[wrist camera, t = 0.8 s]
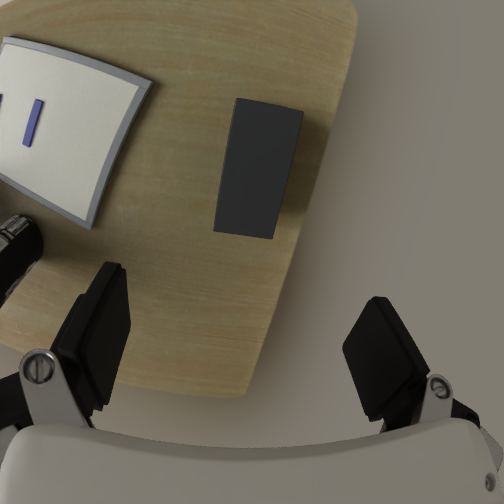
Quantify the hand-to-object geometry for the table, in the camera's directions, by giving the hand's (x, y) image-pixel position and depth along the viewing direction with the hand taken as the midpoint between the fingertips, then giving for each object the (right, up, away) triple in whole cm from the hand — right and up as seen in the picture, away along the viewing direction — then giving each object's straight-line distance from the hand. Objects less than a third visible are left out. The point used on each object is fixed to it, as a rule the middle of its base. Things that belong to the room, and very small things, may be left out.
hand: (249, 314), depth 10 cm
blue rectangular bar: (-22, +15, +8) cm, 28 cm away
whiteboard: (-22, +15, +9) cm, 28 cm away
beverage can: (-27, +4, +15) cm, 32 cm away
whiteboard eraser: (0, +11, +13) cm, 17 cm away
